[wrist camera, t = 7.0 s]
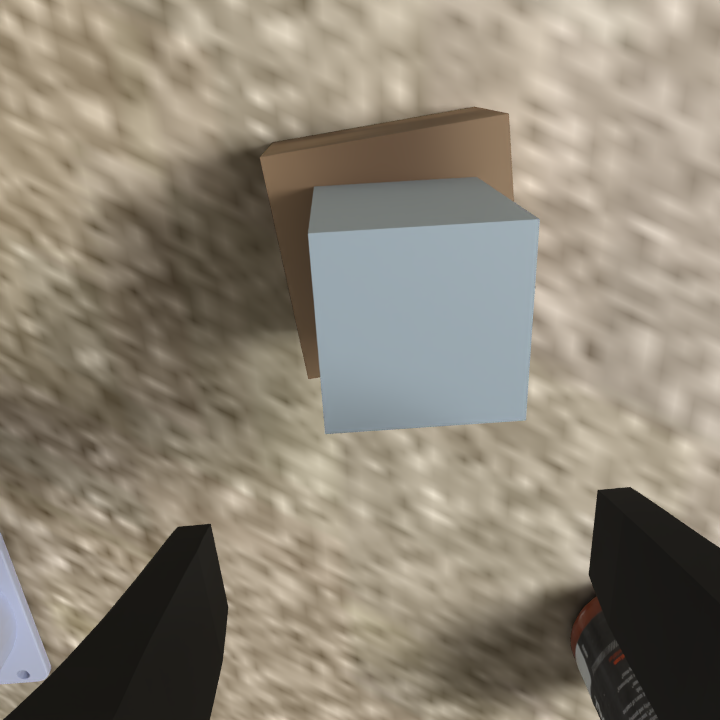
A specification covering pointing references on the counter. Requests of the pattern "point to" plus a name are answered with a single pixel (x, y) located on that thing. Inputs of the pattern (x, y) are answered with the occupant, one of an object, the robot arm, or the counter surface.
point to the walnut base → (373, 180)
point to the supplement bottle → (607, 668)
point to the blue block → (422, 303)
